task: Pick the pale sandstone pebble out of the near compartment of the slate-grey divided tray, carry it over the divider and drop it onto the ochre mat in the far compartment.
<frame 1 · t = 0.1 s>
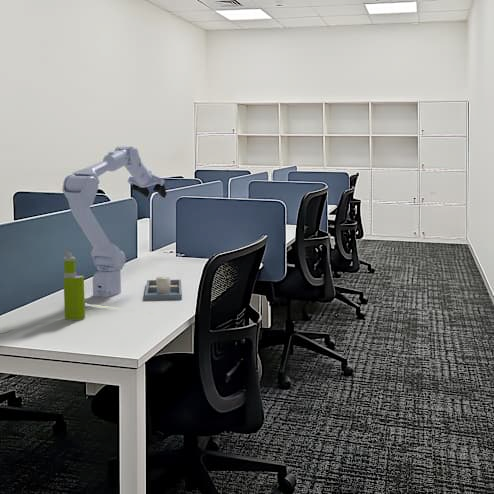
hand: (156, 195, 251), 32 cm above the table, tool tilted 50°, fingers open, 7 cm apart
vape: (74, 318, 202), on the table
tray: (163, 294, 234), on the table
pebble: (163, 295, 228), point 1 cm above the table, touching tray
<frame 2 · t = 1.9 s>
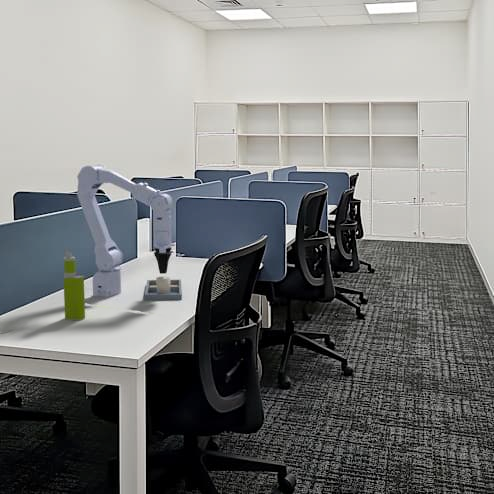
hand: (163, 271, 227), 9 cm above the table, tool pointing down, fingers open, 7 cm apart
nothing on the table moved.
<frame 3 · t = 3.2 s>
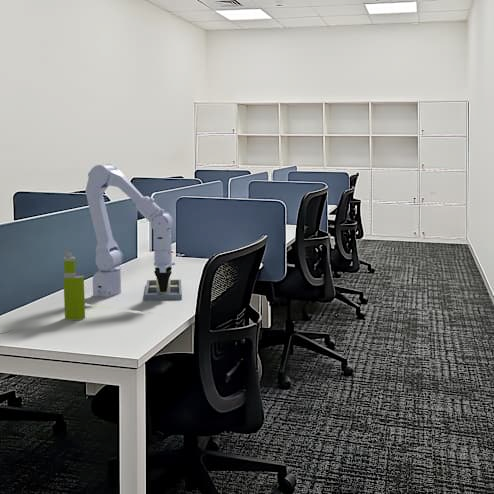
hand: (163, 289, 228), 3 cm above the table, tool pointing down, fingers closed on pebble, 5 cm apart
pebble: (163, 295, 228), point 1 cm above the table, touching gripper, tray
everything else where it was.
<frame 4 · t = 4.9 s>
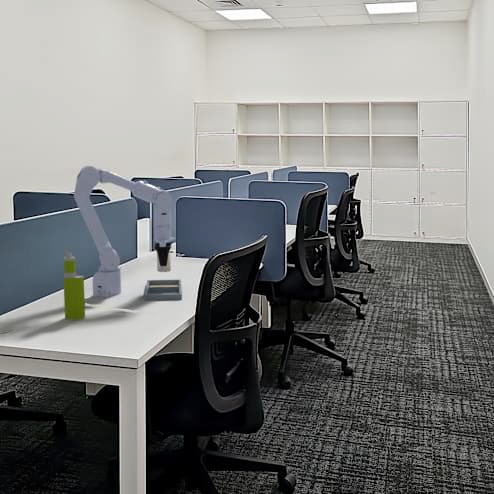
hand: (163, 264, 236), 10 cm above the table, tool pointing down, fingers closed on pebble, 5 cm apart
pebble: (163, 270, 236), point 8 cm above the table, touching gripper
everything else where it was.
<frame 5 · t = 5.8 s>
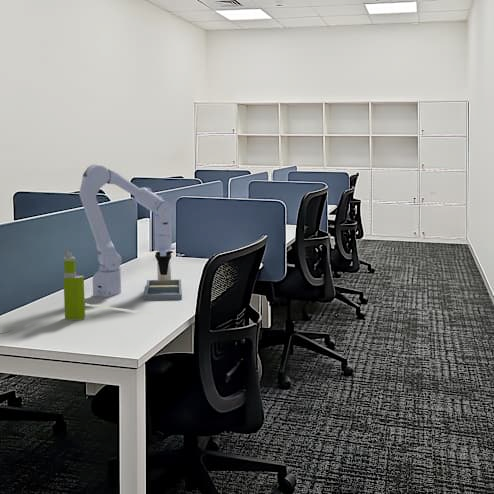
hand: (163, 273, 239), 6 cm above the table, tool pointing down, fingers closed on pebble, 5 cm apart
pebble: (164, 279, 239), point 4 cm above the table, touching gripper
everything else where it was.
when the fingers open (4 cm above the table, at t = 6.6 s): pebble drops 1 cm, resting on tray.
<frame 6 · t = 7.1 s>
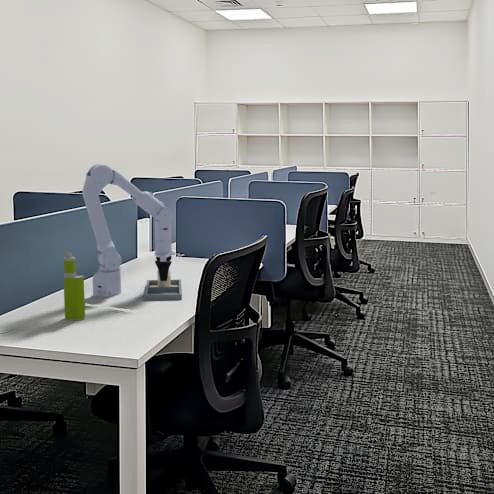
hand: (163, 278, 239), 4 cm above the table, tool pointing down, fingers open, 7 cm apart
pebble: (164, 287, 240), point 1 cm above the table, touching tray
everything else where it was.
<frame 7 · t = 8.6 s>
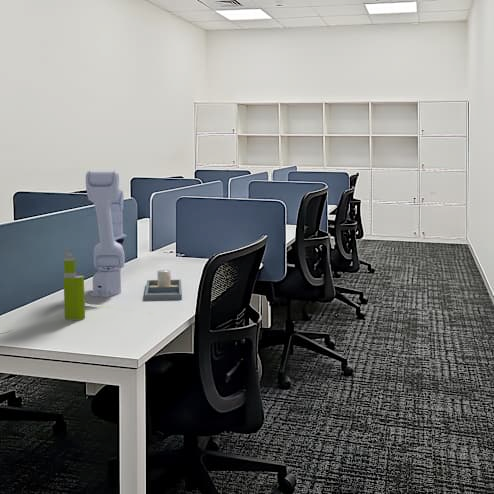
hand: (115, 260, 245), 9 cm above the table, tool pointing down, fingers open, 7 cm apart
nothing on the table moved.
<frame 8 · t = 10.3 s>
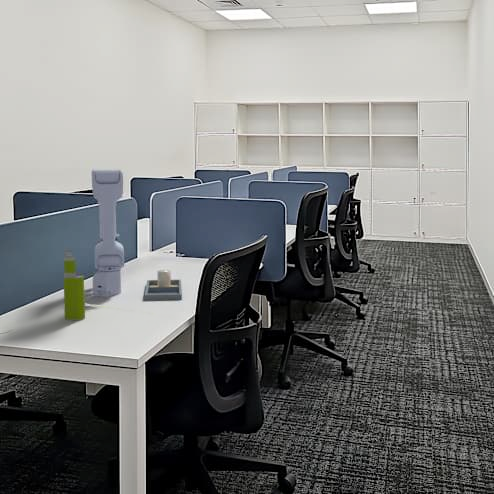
hand: (108, 260, 246), 9 cm above the table, tool pointing down, fingers open, 7 cm apart
nothing on the table moved.
at the end: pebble inside the target area on the tray (1.5 cm from its centre), point 0.9 cm above the tray's base; the gripper is holding nothing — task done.
